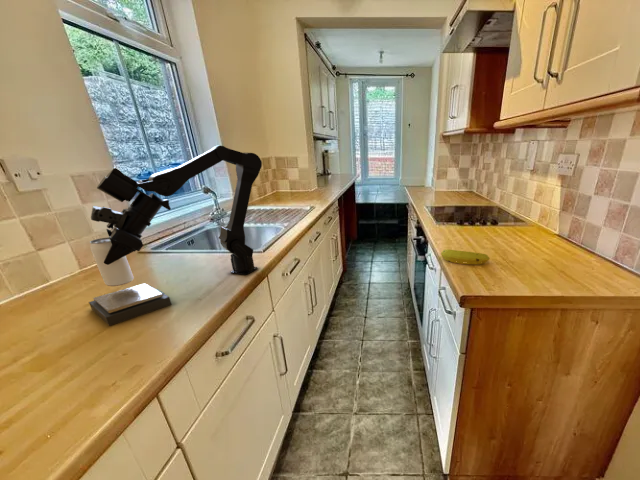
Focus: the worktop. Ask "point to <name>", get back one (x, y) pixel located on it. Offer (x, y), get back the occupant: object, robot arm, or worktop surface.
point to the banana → (464, 257)
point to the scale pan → (127, 297)
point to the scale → (130, 309)
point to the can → (113, 272)
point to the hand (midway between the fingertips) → (104, 260)
